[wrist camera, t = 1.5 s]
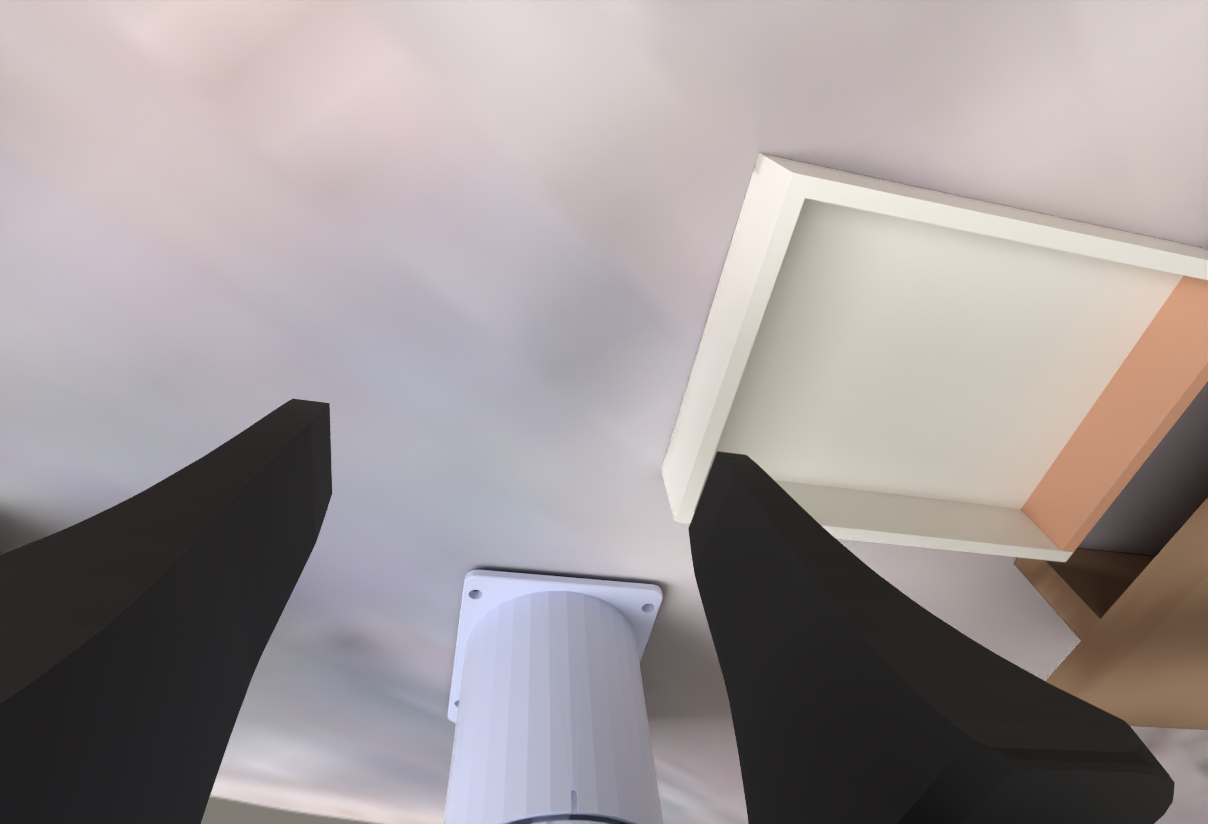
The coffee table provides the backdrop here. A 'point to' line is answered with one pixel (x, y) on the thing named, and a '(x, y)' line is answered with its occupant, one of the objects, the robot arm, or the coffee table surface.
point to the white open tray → (938, 362)
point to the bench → (1135, 627)
